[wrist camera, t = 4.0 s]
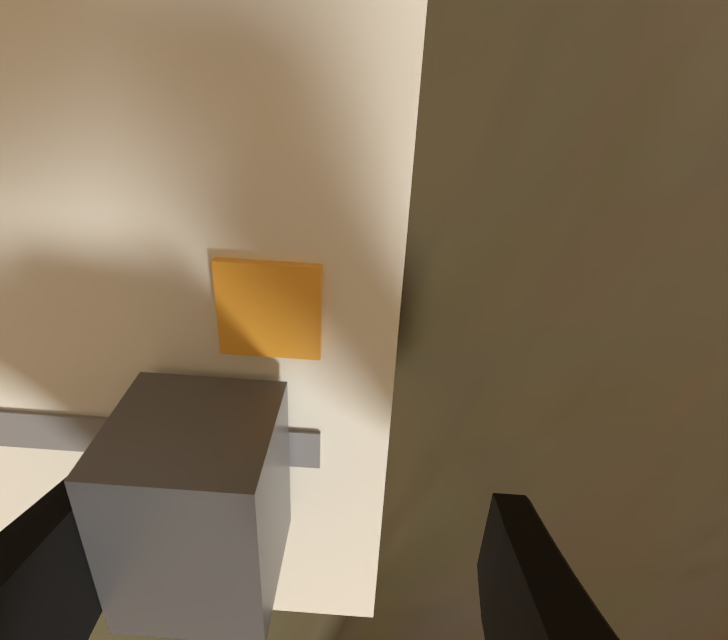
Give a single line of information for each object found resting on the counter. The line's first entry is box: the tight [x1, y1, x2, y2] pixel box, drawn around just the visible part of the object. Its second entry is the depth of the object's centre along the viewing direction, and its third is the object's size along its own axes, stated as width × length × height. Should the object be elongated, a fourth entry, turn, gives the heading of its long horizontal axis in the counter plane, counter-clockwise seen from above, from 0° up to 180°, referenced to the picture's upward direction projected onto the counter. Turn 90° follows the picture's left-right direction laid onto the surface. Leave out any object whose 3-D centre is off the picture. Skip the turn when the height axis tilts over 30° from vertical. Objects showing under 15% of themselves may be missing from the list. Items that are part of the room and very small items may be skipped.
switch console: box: [0, 0, 427, 617], centre depth 10 cm, size 13×24×2 cm, turn 177°
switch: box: [64, 372, 291, 640], centre depth 11 cm, size 3×4×3 cm
